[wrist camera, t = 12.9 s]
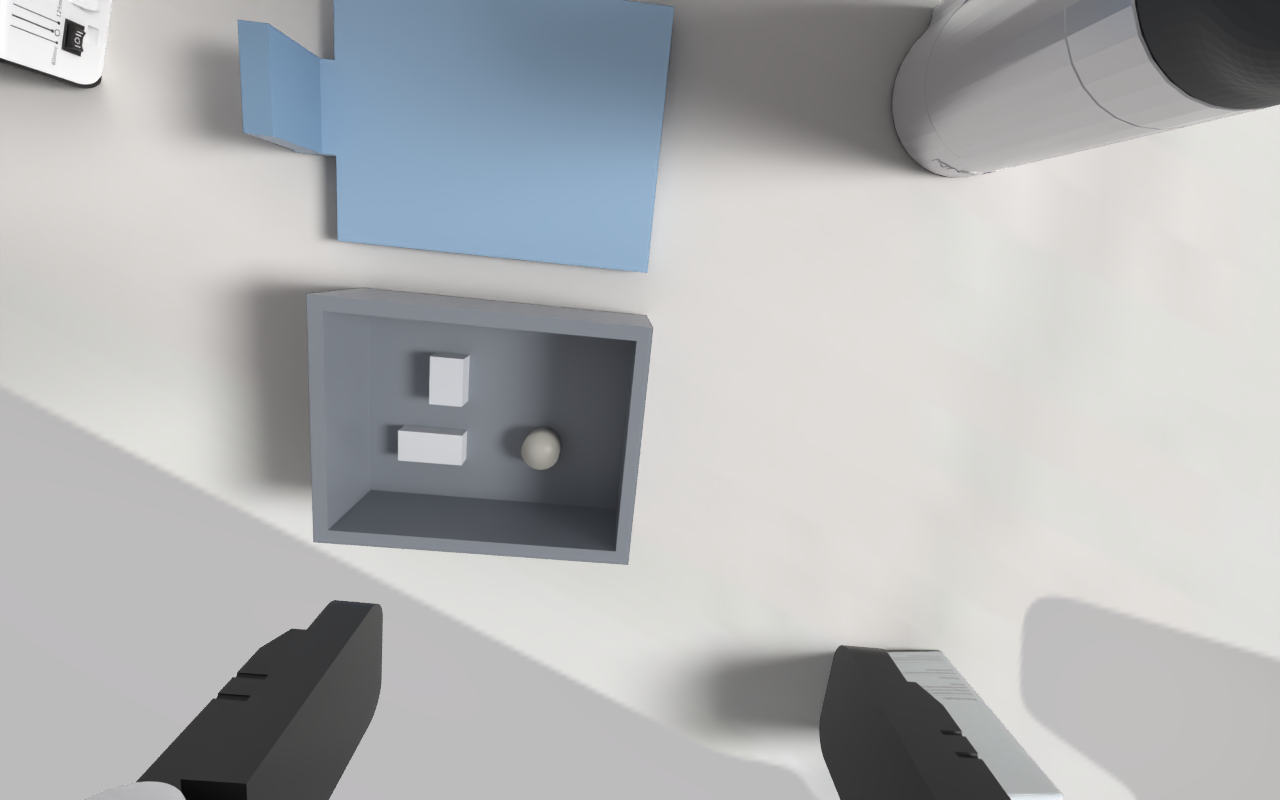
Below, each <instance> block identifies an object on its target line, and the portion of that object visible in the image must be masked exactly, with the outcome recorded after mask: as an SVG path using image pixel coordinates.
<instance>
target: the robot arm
mask: <svg viewBox="0 0 1280 800" xmlns="http://www.w3.org/2000/svg"><path fill="white" fill-rule="evenodd" d="M1279 104H1280V0H944V1H943V2H942V3H940V4H939V5H938V6H937V7H935V8H934V10H933V14H932V19H931V22H930V25H929V28H928V29H927V30H926V31H925V33H924V34H923V35H922V36H921V37H920V38H919V39H918V40H917V41H916V42H915V44H914V45H913V46H912V47H911V49H910V50H909V52H908V54H907V55H906V57H905V58H904V60H903V62H902V64H901V67H900V69H899V72H898V74H897V77H896V81H895V86H894V91H893V107H892V113H893V118H894V124H895V129H896V132H897V134H898V136H899V139H900V141H901V143H902V145H903V147H904V148H905V149H906V151H907V152H908V153H909V155H910V156H911V157H912V158H913V159H914V160H915V161H916V162H917V163H918V164H920V165H921V166H922V167H924V168H925V169H927V170H929V171H931V172H933V173H935V174H939V175H943V176H947V177H969V176H974V175H978V174H979V175H980V174H986V173H991V172H996V171H999V170H1002V169H1005V168H1009V167H1014V166H1019V165H1023V164H1027V163H1032V162H1036V161H1040V160H1044V159H1049V158H1053V157H1057V156H1062V155H1066V154H1070V153H1075V152H1079V151H1083V150H1087V149H1092V148H1096V147H1100V146H1105V145H1109V144H1113V143H1118V142H1122V141H1126V140H1130V139H1135V138H1139V137H1143V136H1148V135H1152V134H1156V133H1161V132H1165V131H1169V130H1173V129H1178V128H1182V127H1186V126H1190V125H1194V124H1199V123H1203V122H1207V121H1212V120H1216V119H1220V118H1224V117H1229V116H1233V115H1237V114H1242V113H1246V112H1250V111H1255V110H1259V109H1263V108H1266V107H1271V106H1275V105H1279ZM382 617H383V615H382V608H381V606H380V605H379V604H371V603H359V602H348V601H336V600H334V601H332V602H330V603H329V604H328V605H327V606H326V608H325V609H324V610H323V611H322V612H321V614H320V615H319V616H318V617H317V618H316V619H315V620H314V622H313V623H312V624H311V625H310V627H309V628H308V629H307V630H301V629H291V630H289V631H287V632H286V633H284V634H282V635H281V636H279V637H277V638H276V639H274V640H272V641H271V642H269V643H268V644H266V645H264V646H263V647H261V648H260V649H259V650H258V651H257V652H256V653H255V654H254V655H253V656H252V657H251V658H250V659H249V661H248V662H247V663H246V664H245V665H244V666H243V667H242V668H241V669H240V670H239V671H238V673H237V676H236V678H234V677H233V678H232V679H231V680H230V681H229V682H228V683H227V684H226V685H225V687H223V689H222V690H221V691H220V692H219V693H218V697H217V698H216V699H212V700H211V702H210V703H209V704H208V705H207V706H206V707H205V708H204V709H203V710H202V711H201V712H200V713H199V715H198V716H197V717H196V718H195V719H194V720H193V721H192V722H191V723H190V724H189V725H188V726H187V727H186V729H185V730H184V731H183V732H182V733H181V734H180V735H179V736H178V737H177V738H176V739H175V741H174V742H173V743H172V744H171V745H170V746H169V747H168V748H167V749H166V750H165V751H164V752H163V753H162V754H161V756H160V757H159V758H158V759H157V760H156V761H155V762H154V763H153V764H152V765H151V766H150V767H149V769H148V770H147V771H146V772H145V773H144V774H143V775H142V776H141V777H140V778H139V779H138V780H137V781H136V783H131V784H126V785H121V786H118V787H115V788H112V789H108V790H106V791H103V792H101V793H99V794H96V795H94V796H92V797H90V798H88V799H86V800H329V798H330V796H331V794H332V793H333V791H334V789H335V787H336V785H337V783H338V781H339V780H340V778H341V776H342V774H343V772H344V770H345V769H346V767H347V765H348V763H349V761H350V759H351V758H352V756H353V754H354V752H355V750H356V748H357V746H358V744H359V743H360V741H361V739H362V737H363V735H364V733H365V732H366V730H367V728H368V726H369V724H370V722H371V720H372V718H373V715H374V712H375V709H376V706H377V703H378V699H379V694H380V689H381V672H382V671H381V670H382V623H383V622H382V621H383V618H382ZM819 733H820V744H821V749H822V754H823V757H824V760H825V762H826V765H827V767H828V770H829V772H830V775H831V777H832V780H833V782H834V785H835V787H836V790H837V792H838V795H839V797H840V799H841V800H1011V799H1010V797H1009V796H1008V795H1007V793H1006V792H1005V790H1004V789H1003V788H1002V786H1001V785H1000V783H999V782H998V781H997V779H996V778H995V776H994V775H993V774H992V772H991V771H990V770H989V768H988V767H987V765H986V764H985V763H984V761H983V760H982V759H979V758H978V753H977V751H976V750H975V749H974V747H973V746H972V744H971V743H970V742H969V740H968V739H967V738H966V736H962V731H961V729H960V728H959V726H958V725H957V724H956V722H955V721H954V719H953V718H952V717H951V715H950V714H949V712H948V711H947V710H946V708H945V707H944V706H943V705H942V704H941V703H940V702H939V701H938V700H937V699H935V698H934V697H933V696H932V695H931V694H929V693H928V692H927V691H926V690H925V689H923V688H922V687H921V686H920V685H919V684H917V683H916V682H908V681H907V680H906V679H905V677H904V676H903V674H902V673H901V671H900V670H899V668H898V667H897V665H896V664H895V663H894V661H893V660H892V658H891V657H890V655H889V654H888V653H887V652H886V651H885V650H884V649H878V648H866V647H854V646H842V645H841V646H839V647H838V648H837V650H836V652H835V655H834V658H833V663H832V667H831V672H830V676H829V681H828V685H827V690H826V694H825V698H824V703H823V707H822V712H821V717H820V726H819Z"/></svg>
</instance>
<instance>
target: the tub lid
mask: <svg viewBox="0 0 1280 800" xmlns="http://www.w3.org/2000/svg"><path fill="white" fill-rule="evenodd" d="M673 15H674V7H672V6H664V5H657V4H649V3H641V2H634V1H626V0H334V56H335V60H331V59H322V58H319V57H317V56H316V55H314V54H313V53H311V52H310V51H308V50H307V49H305V48H304V47H302V46H301V45H299V44H298V43H296V42H295V41H294V40H292V39H291V38H289V37H288V36H286V35H285V34H283V33H282V32H280V31H279V30H277V29H276V28H274V27H273V26H271V25H270V24H268V23H260V22H252V21H244V20H238V35H239V55H240V74H241V94H242V114H243V133H245V134H248V135H251V136H254V137H257V138H260V139H263V140H266V141H269V142H272V143H275V144H278V145H281V146H284V147H287V148H290V149H292V151H295V152H298V153H307V154H316V155H324V156H333V157H336V173H337V231H338V241H345V242H354V243H364V244H374V245H384V246H393V247H403V248H413V249H422V250H432V251H442V252H451V253H461V254H471V255H481V256H490V257H500V258H510V259H519V260H529V261H539V262H548V263H558V264H568V265H578V266H587V267H597V268H607V269H616V270H626V271H636V272H645V273H647V270H648V260H649V250H650V241H651V231H652V221H653V211H654V201H655V191H656V182H657V172H658V162H659V152H660V142H661V133H662V123H663V113H664V103H665V93H666V84H667V74H668V64H669V54H670V44H671V35H672V25H673Z"/></svg>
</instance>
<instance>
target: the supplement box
mask: <svg viewBox="0 0 1280 800" xmlns="http://www.w3.org/2000/svg"><path fill="white" fill-rule="evenodd" d="M887 653H888V654H889V655H890V657H891V658H892V660H893V661H894V663H895V664H896V665H897V667H898V668H899V670H900V671H901V673H902V674H903V676H904V677H905V679H906V680H907V681H908V682H916V683H917V684H919V685H920V686H921V687H922V688H923V689H925V690H926V691H927V692H928V693H929V694H931V695H932V696H933V697H934V698H935V699H937V700H938V701H939V702H940V703H941V704H942V705H943V706H944V707H945V708H946V710H947V711H948V712H949V714H950V715H951V717H952V718H953V719H954V721H955V722H956V724H957V725H958V726H959V728H960V729H961V731H962V736H966V738H967V739H968V740H969V742H970V743H971V744H972V746H973V747H974V749H975V750H976V751H977V753H978V758H979V759H982V760H983V761H984V763H985V764H986V765H987V767H988V768H989V770H990V771H991V772H992V774H993V775H994V776H995V778H996V779H997V781H998V782H999V783H1000V785H1001V786H1002V788H1003V789H1004V790H1005V792H1006V793H1007V795H1008V796H1009V797H1010V799H1011V800H1062V799H1063V794H1062V792H1061V791H1060V790H1059V789H1058V788H1057V787H1056V786H1055V785H1054V783H1053V782H1052V781H1051V780H1050V779H1049V778H1048V776H1047V775H1046V774H1045V773H1044V772H1043V771H1042V769H1041V768H1040V767H1039V766H1038V765H1037V764H1036V762H1035V761H1034V760H1033V759H1032V758H1031V756H1030V755H1029V754H1028V753H1027V752H1026V751H1025V749H1024V748H1023V747H1022V746H1021V745H1020V743H1019V742H1018V741H1017V740H1016V739H1015V738H1014V736H1013V735H1012V734H1011V733H1010V732H1009V730H1008V729H1007V728H1006V727H1005V726H1004V724H1003V723H1002V722H1001V721H1000V720H999V719H998V717H997V716H996V715H995V714H994V713H993V711H992V710H991V709H990V708H989V707H988V705H987V704H986V703H985V702H984V701H983V700H982V698H981V697H980V696H979V695H978V694H977V693H976V691H975V690H974V689H973V688H972V687H971V685H970V684H969V683H968V682H967V681H966V679H965V678H964V677H963V676H962V675H961V674H960V673H959V671H958V670H957V669H956V668H955V667H954V665H953V664H952V663H951V662H950V661H949V660H948V658H947V657H946V656H945V655H944V654H943V653H942V652H941V651H929V652H887Z"/></svg>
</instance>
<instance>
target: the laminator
mask: <svg viewBox="0 0 1280 800" xmlns="http://www.w3.org/2000/svg"><path fill="white" fill-rule="evenodd" d="M111 7H112V0H0V63H2V64H5V65H8V66H12V67H15V68H18V69H21V70H24V71H27V72H30V73H33V74H37V75H40V76H43V77H46V78H49V79H52V80H55V81H59V82H62V83H65V84H68V85H71V86H75V87H79V88H93V87H95V86H97V85H99V84H100V82H101V75H102V70H103V63H104V56H105V49H106V42H107V35H108V28H109V21H110V14H111Z"/></svg>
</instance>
